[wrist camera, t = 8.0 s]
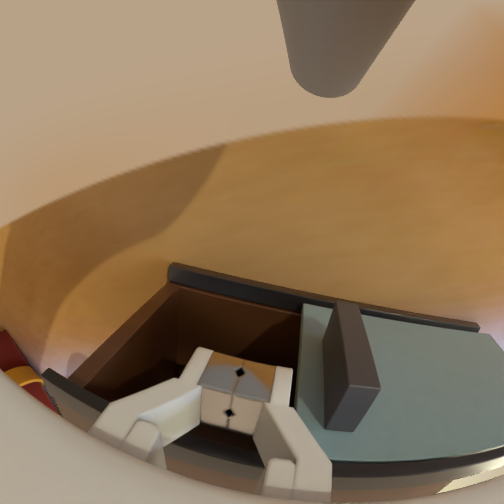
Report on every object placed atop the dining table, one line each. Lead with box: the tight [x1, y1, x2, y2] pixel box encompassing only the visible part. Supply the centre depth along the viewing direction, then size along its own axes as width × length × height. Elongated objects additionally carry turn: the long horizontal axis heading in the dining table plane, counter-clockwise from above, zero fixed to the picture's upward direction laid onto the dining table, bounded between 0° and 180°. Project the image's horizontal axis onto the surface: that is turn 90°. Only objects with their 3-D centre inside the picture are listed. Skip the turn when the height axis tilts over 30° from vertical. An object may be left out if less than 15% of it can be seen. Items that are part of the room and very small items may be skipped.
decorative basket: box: [0, 330, 58, 414], centre depth 29 cm, size 34×29×15 cm
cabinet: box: [41, 262, 504, 503], centre depth 14 cm, size 12×25×13 cm, turn 81°
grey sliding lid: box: [294, 300, 504, 464], centre depth 11 cm, size 3×16×11 cm, turn 81°
